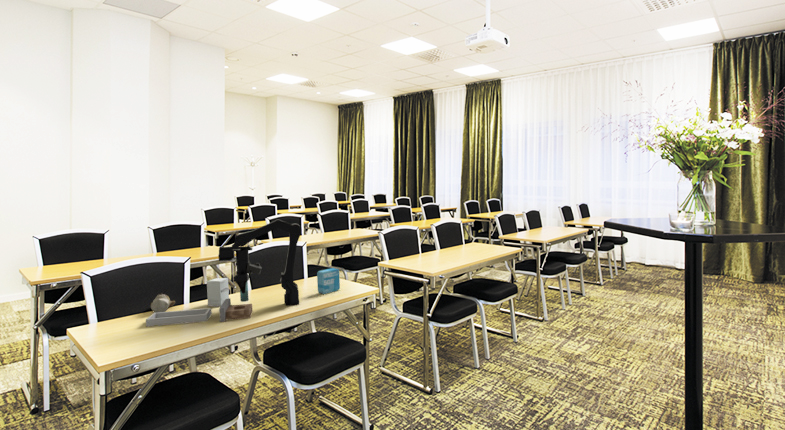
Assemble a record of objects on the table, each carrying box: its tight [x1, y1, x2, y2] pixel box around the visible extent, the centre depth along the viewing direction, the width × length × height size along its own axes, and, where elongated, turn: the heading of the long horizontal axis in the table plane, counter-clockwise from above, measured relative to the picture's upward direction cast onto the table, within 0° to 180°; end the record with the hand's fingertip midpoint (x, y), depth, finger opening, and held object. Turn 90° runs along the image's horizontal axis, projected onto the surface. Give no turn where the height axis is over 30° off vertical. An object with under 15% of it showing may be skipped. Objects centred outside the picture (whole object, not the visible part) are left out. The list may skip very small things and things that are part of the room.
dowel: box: [239, 280, 250, 303], centre depth 200 cm, size 4×4×10 cm
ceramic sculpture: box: [150, 292, 176, 313], centre depth 201 cm, size 11×9×15 cm
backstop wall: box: [218, 298, 232, 323], centre depth 188 cm, size 2×16×6 cm, turn 12°
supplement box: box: [206, 277, 230, 308], centre depth 208 cm, size 7×7×13 cm
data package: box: [316, 267, 341, 295], centre depth 227 cm, size 12×4×12 cm, turn 139°
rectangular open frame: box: [145, 307, 213, 327], centre depth 184 cm, size 24×10×3 cm, turn 102°
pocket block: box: [226, 303, 254, 321], centre depth 189 cm, size 10×10×4 cm
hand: (244, 292), depth 200 cm, fingers closed on dowel, 4 cm apart
